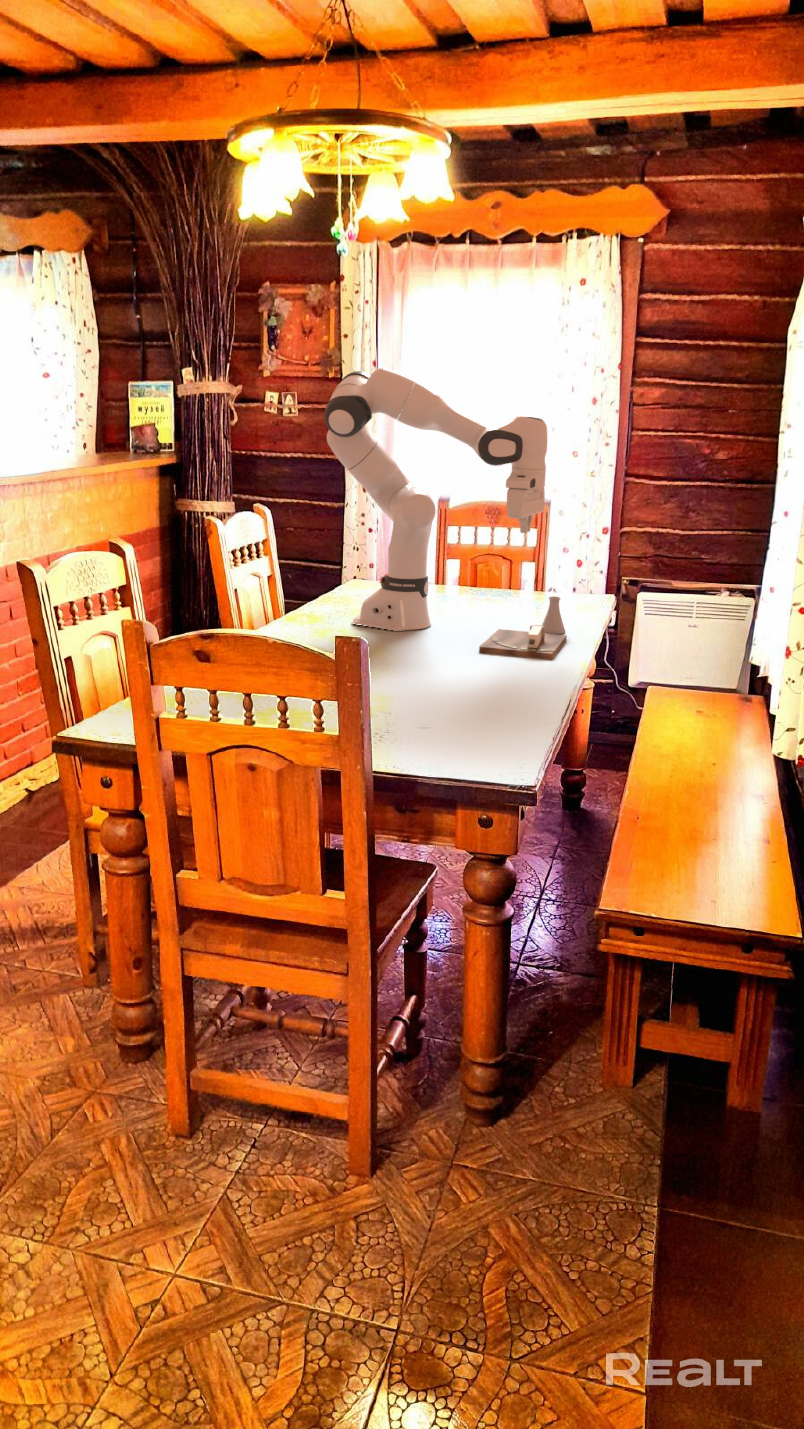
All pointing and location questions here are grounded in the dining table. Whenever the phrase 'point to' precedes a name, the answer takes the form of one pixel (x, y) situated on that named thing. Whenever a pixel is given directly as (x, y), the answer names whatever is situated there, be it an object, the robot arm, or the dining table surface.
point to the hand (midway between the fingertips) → (525, 532)
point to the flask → (553, 618)
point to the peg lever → (535, 635)
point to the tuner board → (522, 644)
